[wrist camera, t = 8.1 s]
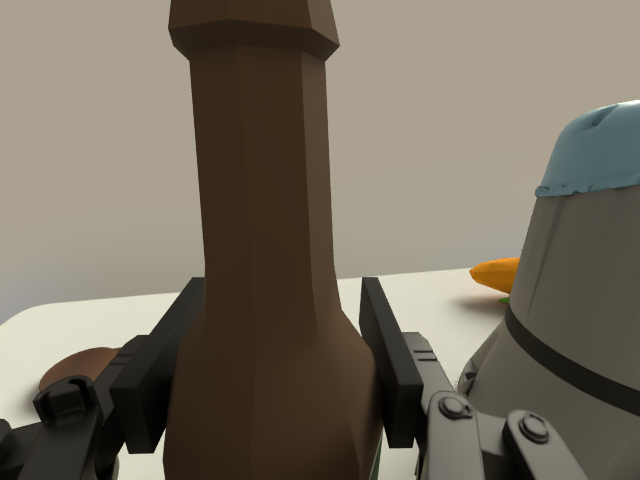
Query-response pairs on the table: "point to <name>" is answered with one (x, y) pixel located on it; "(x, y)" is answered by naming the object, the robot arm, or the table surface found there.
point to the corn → (497, 274)
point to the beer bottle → (267, 260)
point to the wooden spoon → (80, 365)
